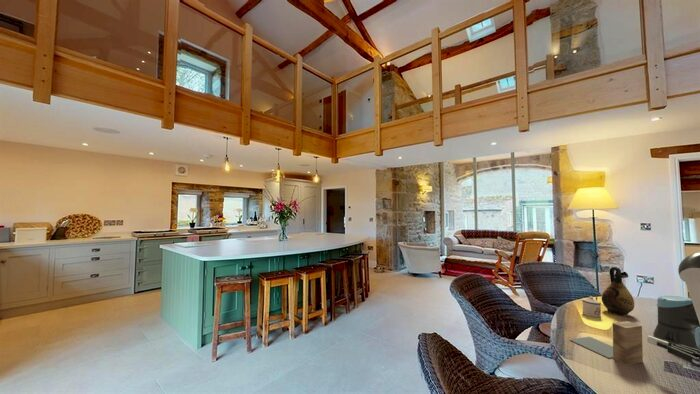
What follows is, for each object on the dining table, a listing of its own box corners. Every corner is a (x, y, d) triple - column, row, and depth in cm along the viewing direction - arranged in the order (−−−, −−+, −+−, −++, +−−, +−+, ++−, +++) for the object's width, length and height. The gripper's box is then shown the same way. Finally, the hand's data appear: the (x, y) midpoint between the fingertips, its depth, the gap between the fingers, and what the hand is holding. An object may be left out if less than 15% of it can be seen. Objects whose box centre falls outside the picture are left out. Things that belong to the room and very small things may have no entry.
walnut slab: (642, 362, 118) (641, 325, 119) (627, 365, 116) (626, 328, 117) (628, 356, 123) (627, 321, 124) (613, 358, 121) (612, 323, 121)
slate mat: (630, 354, 124) (630, 353, 124) (608, 358, 121) (608, 357, 121) (589, 337, 141) (589, 336, 141) (569, 340, 137) (569, 339, 137)
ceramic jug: (642, 319, 166) (640, 271, 167) (613, 316, 169) (612, 269, 170) (620, 309, 183) (619, 265, 184) (594, 307, 186) (593, 264, 187)
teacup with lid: (598, 318, 166) (597, 300, 166) (579, 313, 173) (579, 295, 174) (605, 315, 172) (604, 297, 172) (587, 310, 179) (586, 293, 180)
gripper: (730, 386, 88) (638, 349, 111) (753, 381, 92) (659, 346, 115) (729, 363, 89) (637, 331, 112) (752, 358, 92) (658, 328, 115)
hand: (648, 339), depth 113 cm, fingers closed
